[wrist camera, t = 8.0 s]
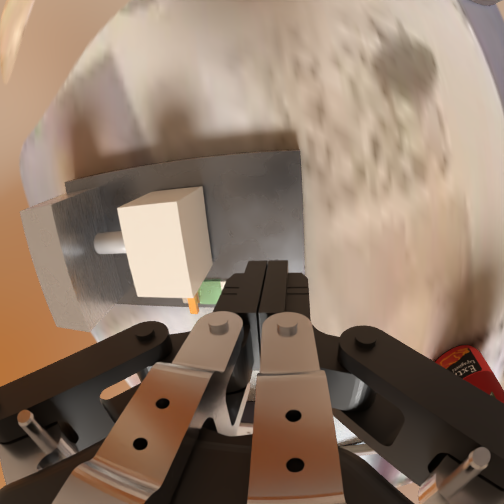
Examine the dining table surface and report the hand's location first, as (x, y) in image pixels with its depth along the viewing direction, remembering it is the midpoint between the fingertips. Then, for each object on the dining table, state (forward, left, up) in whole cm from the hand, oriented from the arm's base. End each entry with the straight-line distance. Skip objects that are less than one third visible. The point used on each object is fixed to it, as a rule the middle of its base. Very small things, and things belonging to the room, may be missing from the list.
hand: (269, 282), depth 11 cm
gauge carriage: (+2, -9, -10) cm, 14 cm away
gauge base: (+1, -8, -12) cm, 14 cm away
